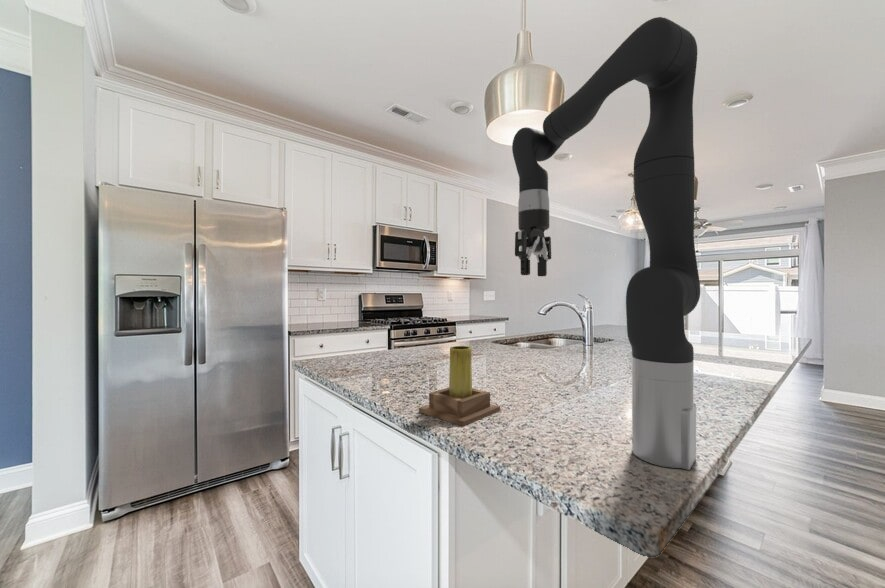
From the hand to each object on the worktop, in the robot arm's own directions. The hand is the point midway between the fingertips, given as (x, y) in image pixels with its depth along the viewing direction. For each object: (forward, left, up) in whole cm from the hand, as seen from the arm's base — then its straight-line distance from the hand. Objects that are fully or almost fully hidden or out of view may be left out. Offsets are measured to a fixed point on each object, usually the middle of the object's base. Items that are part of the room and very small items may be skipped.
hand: (534, 275), depth 92 cm
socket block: (+12, +15, -33) cm, 38 cm away
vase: (+12, +14, -32) cm, 37 cm away
